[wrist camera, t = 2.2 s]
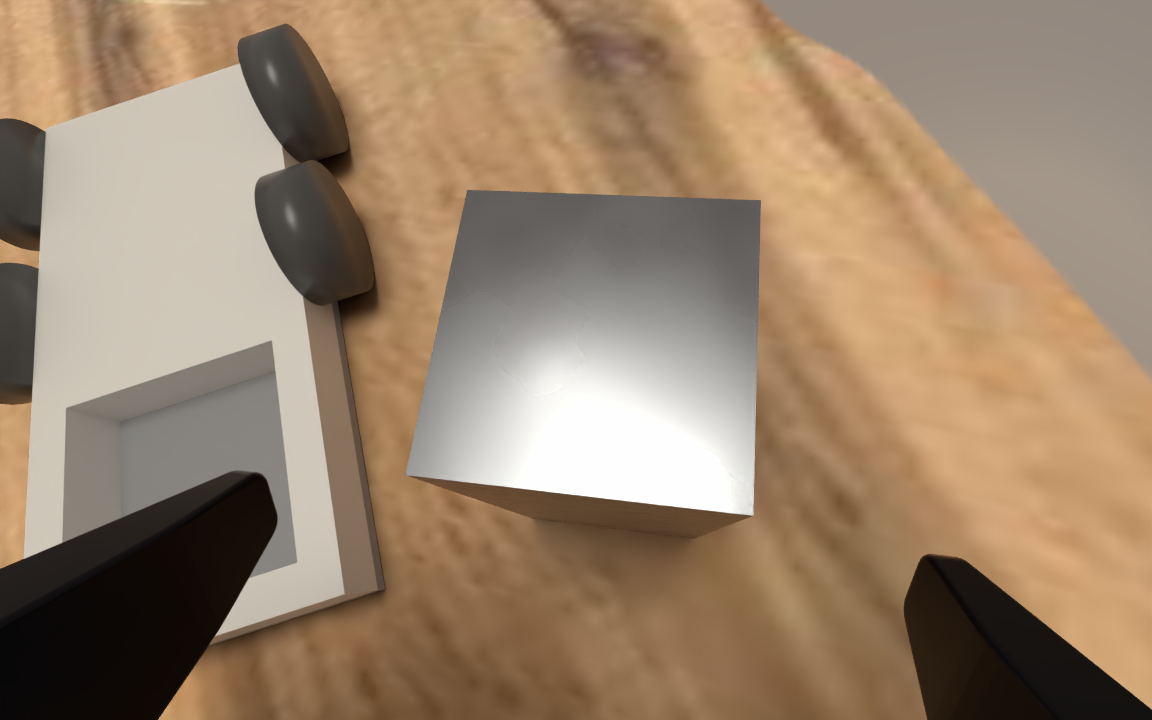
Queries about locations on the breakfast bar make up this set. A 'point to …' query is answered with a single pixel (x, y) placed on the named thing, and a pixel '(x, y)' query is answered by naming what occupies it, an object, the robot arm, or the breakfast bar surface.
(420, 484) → the breakfast bar surface
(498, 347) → the block
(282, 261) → the chassis
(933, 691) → the robot arm
